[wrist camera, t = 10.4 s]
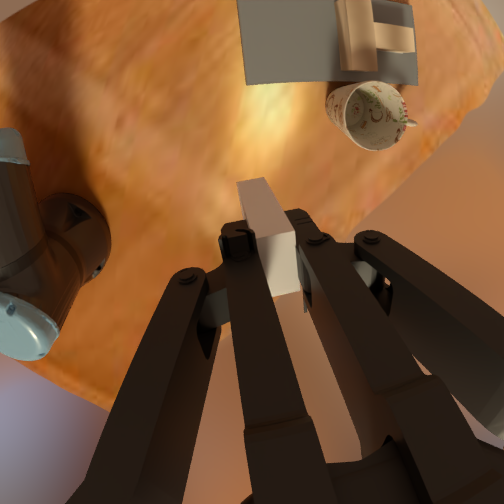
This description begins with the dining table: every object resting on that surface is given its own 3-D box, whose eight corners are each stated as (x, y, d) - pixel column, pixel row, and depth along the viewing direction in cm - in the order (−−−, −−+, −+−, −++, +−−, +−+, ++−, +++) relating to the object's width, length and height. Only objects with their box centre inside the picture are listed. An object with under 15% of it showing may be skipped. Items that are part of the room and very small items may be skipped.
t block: (340, 70, 36) (352, 70, 32) (334, 2, 31) (344, -4, 27) (401, 74, 36) (416, 75, 33) (395, 10, 31) (410, 6, 28)
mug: (318, 75, 37) (346, 75, 29) (398, 88, 39) (438, 94, 30) (315, 133, 41) (340, 148, 33) (392, 140, 43) (429, 158, 34)
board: (246, 85, 37) (247, 85, 36) (236, -4, 31) (236, -7, 29) (412, 85, 38) (418, 85, 37) (406, 6, 32) (411, 5, 30)
